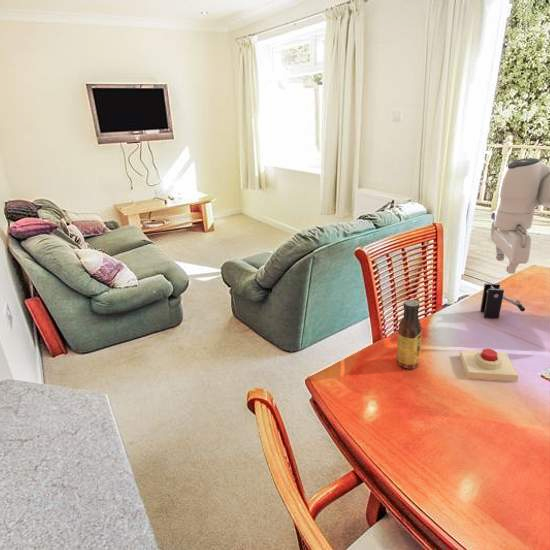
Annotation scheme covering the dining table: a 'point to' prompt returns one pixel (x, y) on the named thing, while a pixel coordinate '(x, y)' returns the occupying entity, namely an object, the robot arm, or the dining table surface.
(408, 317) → the sauce bottle
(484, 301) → the bracket
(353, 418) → the dining table surface
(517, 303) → the lever
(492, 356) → the button
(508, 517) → the dining table surface
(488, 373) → the control block
